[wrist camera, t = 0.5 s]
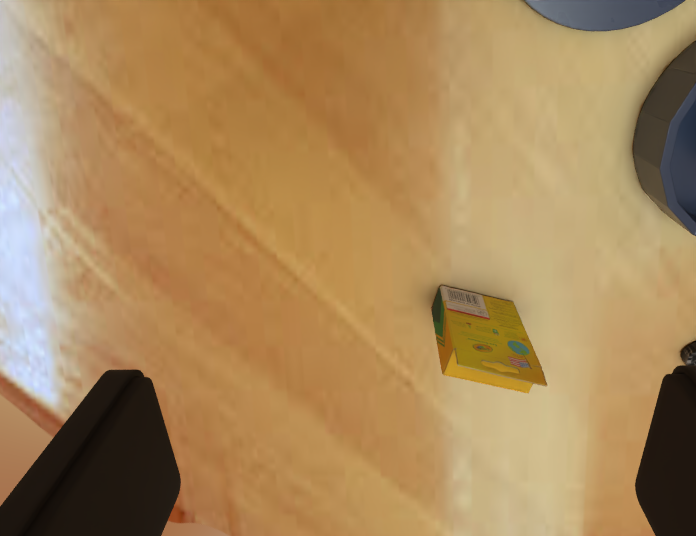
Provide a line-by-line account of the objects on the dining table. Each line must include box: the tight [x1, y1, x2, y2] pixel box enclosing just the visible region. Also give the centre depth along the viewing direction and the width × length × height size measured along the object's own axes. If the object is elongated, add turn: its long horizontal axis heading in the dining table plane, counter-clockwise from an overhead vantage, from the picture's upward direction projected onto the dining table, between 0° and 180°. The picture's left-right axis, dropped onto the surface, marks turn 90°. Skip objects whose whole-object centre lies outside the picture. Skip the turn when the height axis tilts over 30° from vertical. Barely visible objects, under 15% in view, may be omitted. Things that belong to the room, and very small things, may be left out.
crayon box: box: [432, 285, 547, 393], centre depth 44 cm, size 7×3×12 cm, turn 76°
